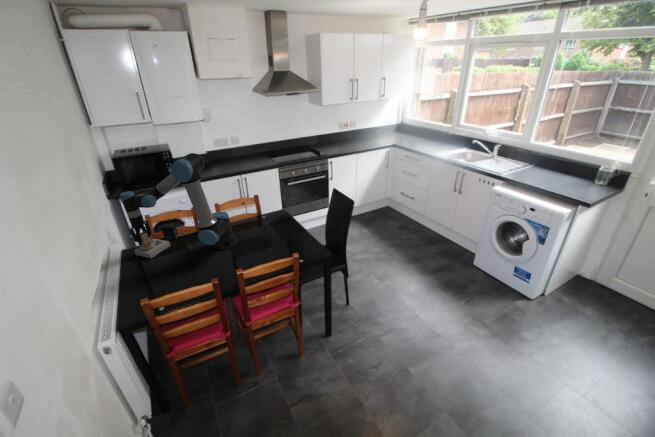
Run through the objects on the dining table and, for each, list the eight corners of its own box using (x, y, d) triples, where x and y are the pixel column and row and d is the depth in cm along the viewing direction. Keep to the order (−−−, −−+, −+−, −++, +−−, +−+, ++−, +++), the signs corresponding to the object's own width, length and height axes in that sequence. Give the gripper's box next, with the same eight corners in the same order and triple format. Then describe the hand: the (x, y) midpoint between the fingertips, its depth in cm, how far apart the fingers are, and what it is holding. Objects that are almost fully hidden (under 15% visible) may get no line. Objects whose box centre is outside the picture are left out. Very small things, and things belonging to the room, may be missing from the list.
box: (178, 235, 233) (174, 222, 228) (176, 239, 228) (172, 226, 223) (167, 236, 232) (163, 224, 227) (165, 240, 227) (160, 227, 222)
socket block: (170, 246, 220) (168, 241, 218) (151, 259, 207) (149, 253, 205) (155, 243, 225) (153, 238, 223) (136, 255, 212) (134, 250, 210)
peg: (152, 248, 212) (146, 232, 207) (147, 251, 209) (141, 235, 204) (148, 247, 214) (142, 231, 208) (143, 250, 211) (136, 234, 205)
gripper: (142, 209, 208) (153, 239, 219) (118, 221, 194) (131, 253, 205) (150, 210, 205) (161, 241, 216) (126, 222, 192) (140, 255, 202)
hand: (147, 247), depth 211 cm, fingers closed on peg, 4 cm apart
